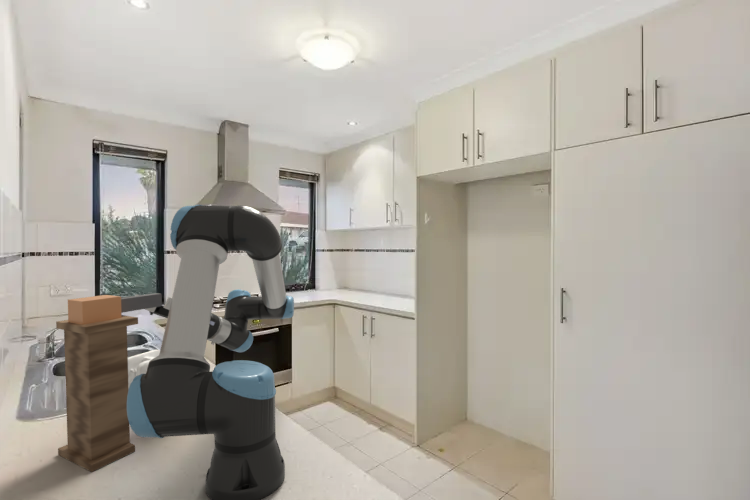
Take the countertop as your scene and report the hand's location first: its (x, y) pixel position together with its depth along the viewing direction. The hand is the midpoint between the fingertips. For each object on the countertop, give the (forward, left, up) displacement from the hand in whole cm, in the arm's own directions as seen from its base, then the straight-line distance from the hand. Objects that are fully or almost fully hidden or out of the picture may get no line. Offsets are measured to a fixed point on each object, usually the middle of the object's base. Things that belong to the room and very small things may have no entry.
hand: (149, 300), depth 100 cm
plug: (0, +7, -2) cm, 8 cm away
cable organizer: (+24, -15, -33) cm, 44 cm away
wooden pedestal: (0, +13, -33) cm, 35 cm away
